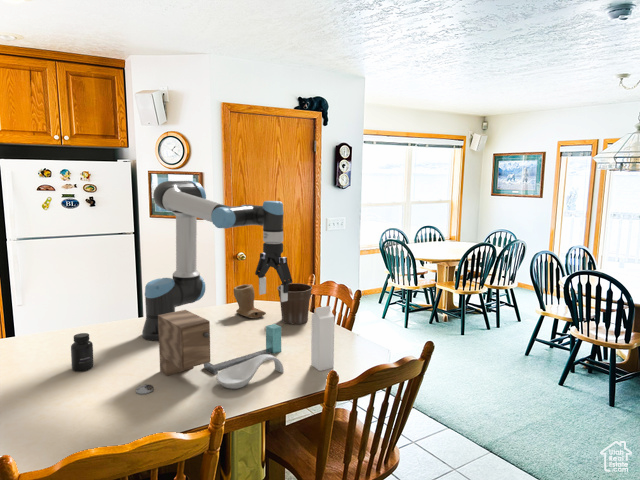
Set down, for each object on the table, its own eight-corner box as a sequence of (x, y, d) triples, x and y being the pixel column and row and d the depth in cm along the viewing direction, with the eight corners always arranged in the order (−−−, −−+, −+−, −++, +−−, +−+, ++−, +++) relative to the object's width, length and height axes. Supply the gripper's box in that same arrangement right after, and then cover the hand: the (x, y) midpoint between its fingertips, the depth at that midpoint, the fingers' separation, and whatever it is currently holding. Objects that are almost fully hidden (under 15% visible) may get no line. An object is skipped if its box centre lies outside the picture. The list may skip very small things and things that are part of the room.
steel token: (133, 391, 145) (133, 387, 145) (149, 386, 148) (149, 383, 148) (140, 397, 141) (139, 393, 141) (155, 392, 145) (155, 388, 144)
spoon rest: (228, 397, 142) (227, 375, 141) (210, 384, 150) (209, 363, 149) (289, 376, 157) (289, 356, 156) (270, 365, 166) (270, 346, 165)
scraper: (203, 367, 162) (203, 340, 161) (272, 347, 182) (272, 323, 181) (214, 374, 157) (213, 346, 156) (283, 352, 177) (283, 327, 176)
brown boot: (229, 313, 226) (229, 284, 224) (251, 309, 233) (250, 280, 231) (244, 321, 214) (244, 290, 212) (266, 317, 221) (266, 286, 219)
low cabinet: (160, 371, 159) (157, 315, 156) (186, 363, 166) (185, 309, 163) (185, 389, 146) (183, 328, 143) (213, 380, 152) (212, 322, 150)
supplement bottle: (84, 373, 157) (82, 339, 155) (67, 371, 158) (65, 337, 157) (98, 365, 164) (96, 332, 162) (81, 363, 165) (79, 331, 163)
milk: (333, 368, 164) (335, 307, 161) (318, 371, 161) (320, 310, 158) (325, 361, 169) (326, 303, 166) (310, 364, 166) (311, 305, 163)
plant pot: (291, 328, 205) (291, 293, 203) (270, 320, 217) (270, 286, 215) (318, 321, 216) (319, 287, 214) (297, 313, 228) (297, 281, 226)
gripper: (246, 239, 179) (246, 292, 182) (286, 247, 161) (285, 306, 164) (261, 237, 184) (261, 289, 187) (302, 245, 166) (301, 302, 169)
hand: (273, 297), depth 176 cm, fingers open, 13 cm apart
